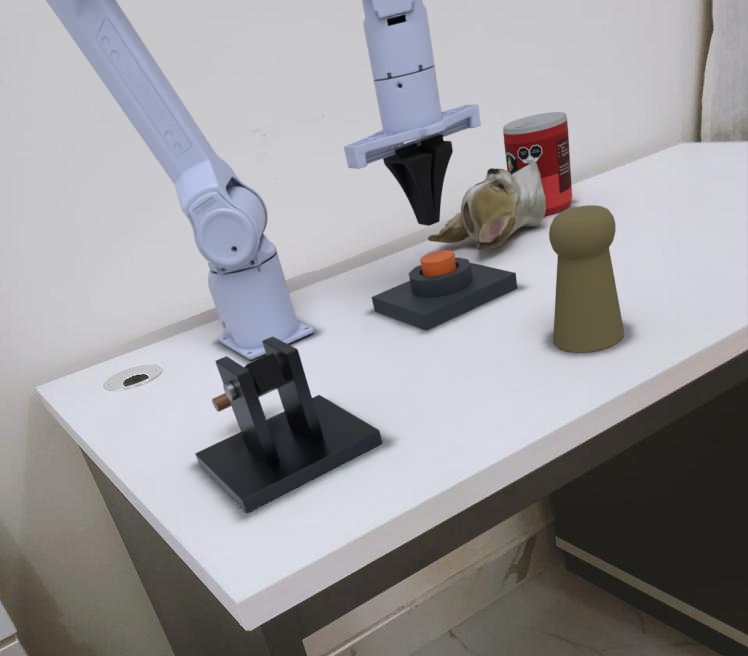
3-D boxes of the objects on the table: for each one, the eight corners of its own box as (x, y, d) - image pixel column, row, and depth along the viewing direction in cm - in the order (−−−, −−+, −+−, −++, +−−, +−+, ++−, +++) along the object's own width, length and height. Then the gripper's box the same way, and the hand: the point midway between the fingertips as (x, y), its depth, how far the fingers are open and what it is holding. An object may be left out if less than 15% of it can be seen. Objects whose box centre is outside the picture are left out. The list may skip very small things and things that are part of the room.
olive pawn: (626, 347, 63) (622, 214, 57) (552, 355, 65) (541, 227, 58) (622, 319, 68) (618, 192, 62) (553, 327, 69) (542, 205, 63)
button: (416, 275, 80) (413, 259, 79) (443, 264, 81) (440, 248, 80) (436, 281, 77) (433, 264, 76) (463, 269, 78) (461, 252, 78)
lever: (220, 419, 64) (207, 393, 63) (271, 395, 66) (259, 370, 65) (244, 401, 55) (229, 371, 54) (303, 374, 56) (289, 345, 56)
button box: (374, 311, 83) (367, 281, 81) (460, 273, 87) (455, 243, 85) (426, 330, 75) (420, 297, 73) (517, 288, 79) (514, 255, 77)
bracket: (199, 465, 62) (160, 369, 57) (322, 406, 66) (295, 312, 61) (247, 513, 55) (206, 407, 50) (382, 443, 59) (357, 339, 54)
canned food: (502, 212, 103) (492, 126, 97) (555, 196, 104) (548, 109, 98) (528, 222, 97) (519, 131, 91) (583, 205, 98) (578, 113, 92)
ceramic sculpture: (565, 147, 88) (471, 195, 83) (574, 220, 93) (485, 270, 88) (503, 147, 96) (413, 191, 91) (513, 215, 101) (429, 260, 96)
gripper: (360, 92, 63) (391, 251, 71) (493, 50, 68) (509, 203, 76) (321, 94, 69) (354, 242, 76) (446, 55, 74) (466, 198, 81)
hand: (428, 222), depth 76 cm, fingers closed
